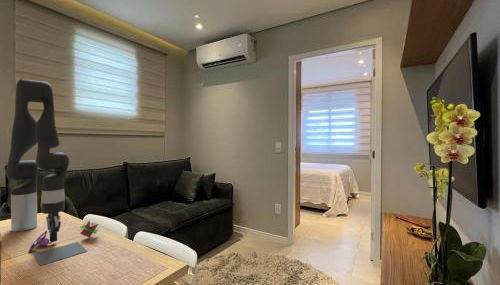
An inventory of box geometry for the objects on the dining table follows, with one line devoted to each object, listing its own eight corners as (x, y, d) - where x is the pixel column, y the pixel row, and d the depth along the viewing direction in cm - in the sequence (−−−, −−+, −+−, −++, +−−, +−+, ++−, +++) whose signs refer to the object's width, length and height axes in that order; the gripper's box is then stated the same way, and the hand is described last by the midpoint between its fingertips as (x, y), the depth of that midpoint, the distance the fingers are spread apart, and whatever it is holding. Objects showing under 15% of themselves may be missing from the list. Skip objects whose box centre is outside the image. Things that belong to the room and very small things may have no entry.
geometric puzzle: (77, 241, 101) (77, 223, 101) (82, 235, 108) (82, 218, 108) (96, 239, 104) (96, 221, 104) (100, 233, 110) (100, 216, 110)
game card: (26, 251, 91) (30, 243, 98) (39, 258, 93) (42, 249, 100) (42, 236, 94) (45, 229, 101) (54, 243, 96) (56, 235, 103)
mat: (33, 254, 90) (33, 253, 90) (77, 242, 101) (77, 241, 101) (40, 265, 82) (40, 265, 82) (87, 251, 93) (87, 250, 93)
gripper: (38, 199, 101) (38, 239, 101) (45, 204, 92) (45, 249, 92) (60, 196, 106) (60, 234, 107) (68, 201, 98) (68, 242, 98)
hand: (53, 241), depth 100 cm, fingers closed
